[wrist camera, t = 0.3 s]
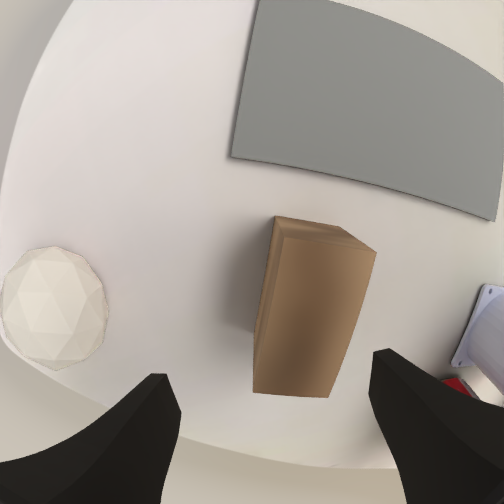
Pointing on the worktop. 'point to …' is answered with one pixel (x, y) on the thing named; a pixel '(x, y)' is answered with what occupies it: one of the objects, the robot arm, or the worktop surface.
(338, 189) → the worktop surface
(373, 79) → the mat
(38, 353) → the geometric ball
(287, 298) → the brown block
